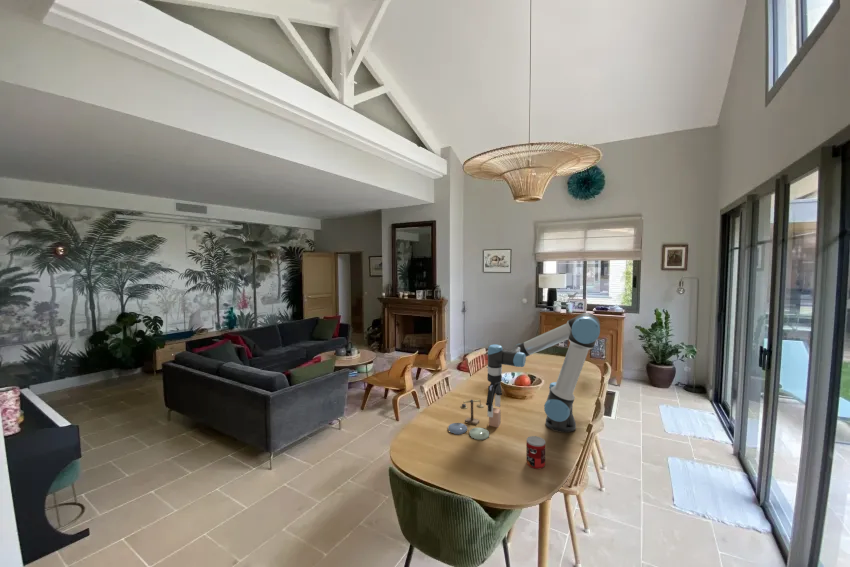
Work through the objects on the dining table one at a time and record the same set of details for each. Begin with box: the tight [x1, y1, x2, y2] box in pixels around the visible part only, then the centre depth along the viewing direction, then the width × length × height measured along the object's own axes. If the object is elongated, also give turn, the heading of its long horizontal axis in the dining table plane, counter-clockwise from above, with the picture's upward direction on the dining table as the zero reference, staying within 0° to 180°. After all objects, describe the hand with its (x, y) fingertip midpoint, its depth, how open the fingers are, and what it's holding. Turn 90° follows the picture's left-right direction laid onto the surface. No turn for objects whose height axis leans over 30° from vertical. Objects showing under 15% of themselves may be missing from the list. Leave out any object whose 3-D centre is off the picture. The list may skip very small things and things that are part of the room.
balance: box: [459, 399, 485, 426], centre depth 195 cm, size 14×4×14 cm, turn 62°
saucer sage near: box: [468, 427, 490, 441], centre depth 182 cm, size 10×10×1 cm
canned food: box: [525, 435, 546, 470], centre depth 156 cm, size 8×8×11 cm
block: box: [488, 407, 502, 428], centre depth 192 cm, size 5×5×8 cm
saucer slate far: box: [447, 422, 468, 435], centre depth 188 cm, size 10×10×1 cm
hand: (494, 411), depth 192 cm, fingers open, 13 cm apart
